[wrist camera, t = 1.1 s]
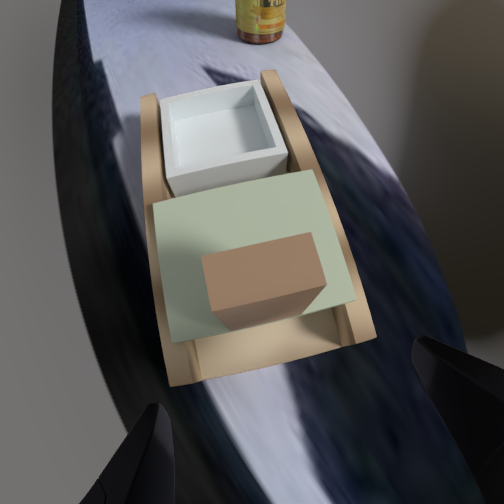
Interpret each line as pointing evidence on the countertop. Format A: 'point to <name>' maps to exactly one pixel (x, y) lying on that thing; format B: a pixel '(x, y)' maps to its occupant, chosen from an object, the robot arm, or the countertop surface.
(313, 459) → the countertop surface
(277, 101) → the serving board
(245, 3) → the sauce bottle
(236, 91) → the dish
